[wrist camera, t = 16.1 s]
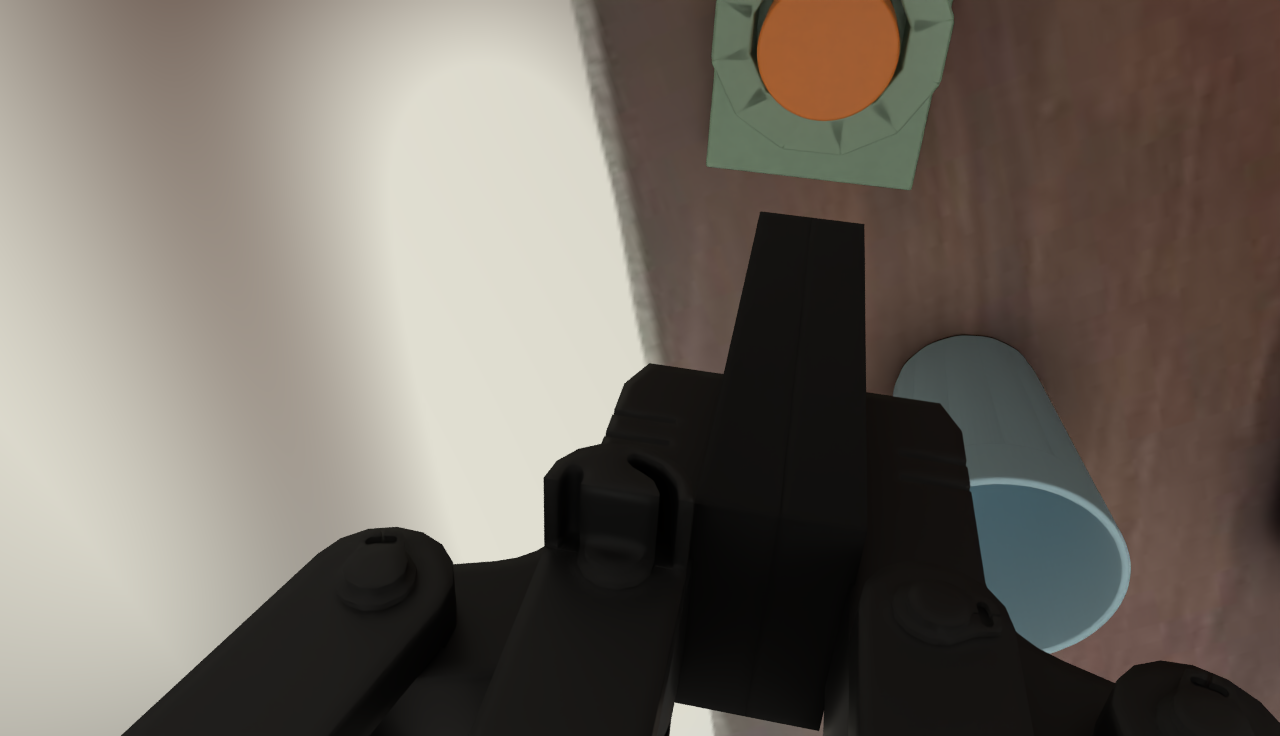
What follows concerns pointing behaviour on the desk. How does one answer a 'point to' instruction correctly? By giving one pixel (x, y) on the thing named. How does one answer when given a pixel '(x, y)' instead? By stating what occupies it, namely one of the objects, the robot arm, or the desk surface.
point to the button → (828, 55)
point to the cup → (1025, 491)
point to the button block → (825, 150)
